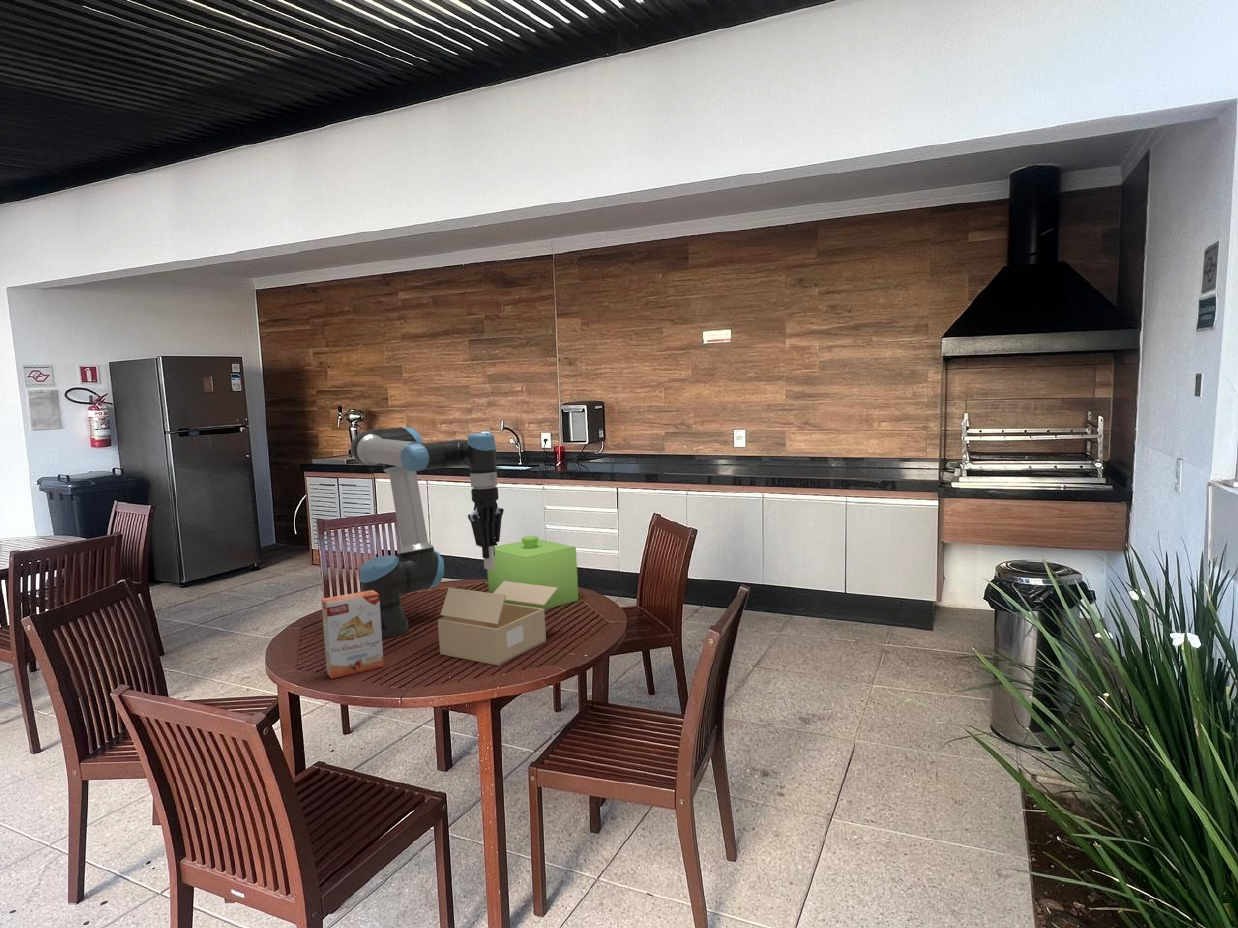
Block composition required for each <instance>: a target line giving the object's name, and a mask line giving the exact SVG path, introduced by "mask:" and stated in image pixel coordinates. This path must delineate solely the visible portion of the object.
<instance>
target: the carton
mask: <svg viewBox="0 0 1238 928" xmlns="http://www.w3.org/2000/svg"><path fill="white" fill-rule="evenodd" d="M545 615H546V614H545V610H544V609H542V608H535V607H527V606H520V605H513V604H506V603H504V605H503V608H502V612H501V616H500V619H499V623H498V624H493V623H487V622H481V621H475V620H469V619H462V618H456V617H450V616H444V617H441V618H439V619H437V626H438V627H437V630H438V642H439V654H440V655H443V656H449V657H453V658H459V659H462V660H463V659H464V660H468V661H473V662H479V663H483V664H488V665H494V666H498V667H499V666H501V665H504V664H505V663H508V662H509V661H511V660H513V659H516V658H518V657H519V656H522V655H523V654H526V653H527V652H529V651H531V650H533V649H535V648H537V647H540V646H541V645H543V644H545V643H547V635H546V632H547V631H546V621H545V620H546V616H545Z"/></svg>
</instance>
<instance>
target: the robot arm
mask: <svg viewBox="0 0 1238 928" xmlns="http://www.w3.org/2000/svg"><path fill="white" fill-rule="evenodd" d="M495 441H496V440H495V435H494V434H493V433H492V432H477V433H476V432H475V433H470V434H468V436H467V439H460V438H459V439H452V440H445V441H436V442H434V441H433V442H424V440H423V437H422V436H421V434H420V433H419V432H418V431H417V430H416V429H415V428H413V427H407V426H406V427H402V426H399V427H387V428H376V429H375V428H370V429H367V430H363V431H361V432H360V433H358V434H356V436H355V437H354V438H353V439H352V441H351V443H350V444H351V445H350V454H351V456H352V458H353V459H354V460H355V461H356V462H358V463H359V464H362V465H366V466H380V465H381V466H382V468H383V472H384V473H386V474H388V475H389V480H390V488H391V493H392V497H393V498H392V499H393V504H394V505H393V506H394V511H395V516H396V523H397V530H398V533H399V534H398V535H399V540H400V549H399V550H397V551H398V552H397V556H396V555H394V554H393V555H392V554H391V555H389V554H388V555H387V554H386V555H383V556H377V557H373V558H371V559H369V560H367V561H366V560H365V562H363V563H362V565H361V566H359V567H360V569H359V583H360V592H364V591H369V590H374V591H375V592H377V593H378V594H379V600H380V615H381V631H382V640H383V639H389V638H394V637H396V636H399V635H403V634H404V633H406V632H408V630H409V620H408V619H407V616H406V614H405V611H404V609H403V605H402V600H401V598H402V597H401V596H403V595H407V594H412V593H415V592H421V591H425V590H429V589H433V588H434V587H437V586H439V585H440V583H441V582H442V581H443V580H442V579H443V578H444V574H445V563H444V562H445V561H444V558H443V556H442V555H441V553H440V552H439V551H437V550H435V548H434V545H432V544H431V543H430V542H429V541H428V535H427V529H426V528H427V527H426V522H425V516H424V510H423V509H424V508H423V505H422V499H421V492H420V487H419V486H420V485H419V481H418V475H417V472H420V471H426V470H427V471H428V470H433V469H443V468H445V469H446V468H453V467H454V468H455V467H461V466H465V467H468V466H469V474H470V475H469V477H470V487H471V490H470V491H471V492H470V493H471V501H472V502H473V503H474V504H473V505H474V506H473V511H472V513H469V514H468V515H467V518H468V520H469V521H470V524H471V529H472V533H473V537H474V541H475V545H476V546H477V547H479V548H480V547H481V551H482V552H481V553H482V554H481V555H482V559H483V570H487V569H490V570H492V569H495V561H494V556H495V546H498V543H499V542H500V538H501V528H502V517H503V514H504V512H505V511H504V508H503V507H502V508H500V507H499V506H498V503H497V501H498V500H499V487H497V486H498V474H497V473H498V472H497V471H498V470H497V469H498V468H497V446H496V442H495Z"/></svg>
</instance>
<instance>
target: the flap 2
mask: <svg viewBox="0 0 1238 928" xmlns="http://www.w3.org/2000/svg"><path fill="white" fill-rule="evenodd" d="M557 590H558V588H557V587H549V586H541V585H532V584H524V583H516V582H507V581H504V582H503V583H502V584H501V585H500V586H499V587H498V588H497V589H496V590H495V592H494V594H502V595H506V598H505V601H511V602H518V603H525V604H533V605H540V606H545V605H546V603H547V602H548V601H549V600H550V598H551V597H552V596H553V595H554V593H555V592H556V591H557Z"/></svg>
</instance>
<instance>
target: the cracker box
mask: <svg viewBox="0 0 1238 928" xmlns="http://www.w3.org/2000/svg"><path fill="white" fill-rule="evenodd" d="M321 609H322V613H321V614H322V625H323V639H324V640H323V641H324V653H325V665H326V666H325V667H326V674H327V675H328V676H329V677H330V679H337V678H342V677H345V676H350V675H353V674H359V673H363V672H368V671H372V670H376V669H379V668H384V649H383V648H384V647H383V639H382V631H381V615H380V600H379V594H378V593H377V592H375V591H374V590H369V591H364V592H361V591H360V592H353V593H347V594H342V595H335V596H328V597H325V598H321Z"/></svg>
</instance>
